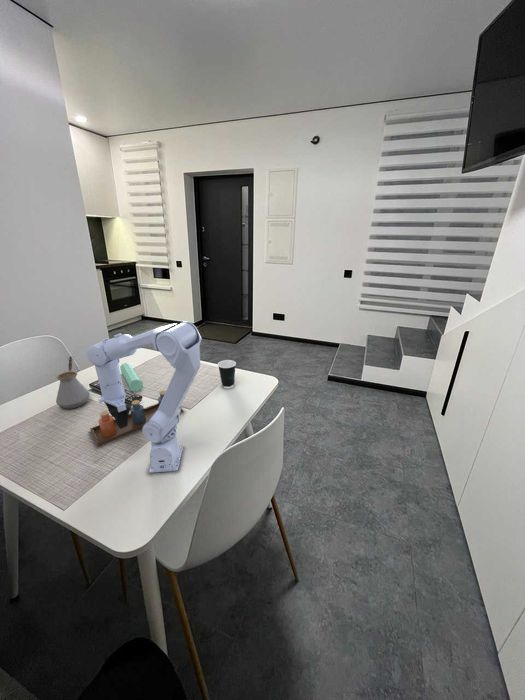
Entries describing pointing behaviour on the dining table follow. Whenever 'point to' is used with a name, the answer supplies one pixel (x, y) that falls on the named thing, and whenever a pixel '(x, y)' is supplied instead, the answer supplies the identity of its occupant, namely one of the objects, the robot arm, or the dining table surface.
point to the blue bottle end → (161, 397)
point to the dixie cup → (227, 372)
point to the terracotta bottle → (107, 424)
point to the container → (131, 377)
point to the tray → (126, 430)
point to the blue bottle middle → (137, 413)
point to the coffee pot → (71, 390)
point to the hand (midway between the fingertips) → (119, 420)
